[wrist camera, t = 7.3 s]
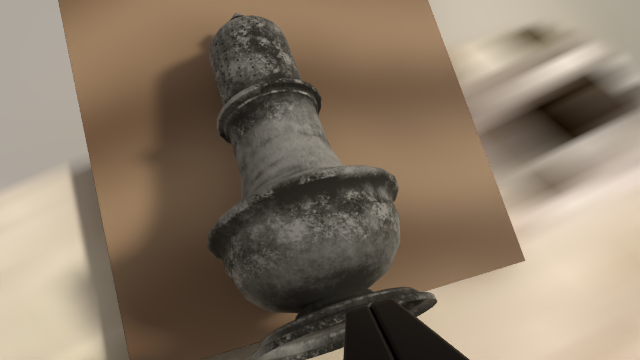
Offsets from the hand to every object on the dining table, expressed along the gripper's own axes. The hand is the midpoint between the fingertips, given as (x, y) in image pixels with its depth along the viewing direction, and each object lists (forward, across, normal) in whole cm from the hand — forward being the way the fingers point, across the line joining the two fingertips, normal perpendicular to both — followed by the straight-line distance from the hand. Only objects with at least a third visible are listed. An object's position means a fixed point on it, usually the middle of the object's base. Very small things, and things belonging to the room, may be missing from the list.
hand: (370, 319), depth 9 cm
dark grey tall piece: (+3, 0, +4) cm, 5 cm away
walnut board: (+12, 0, +1) cm, 12 cm away
